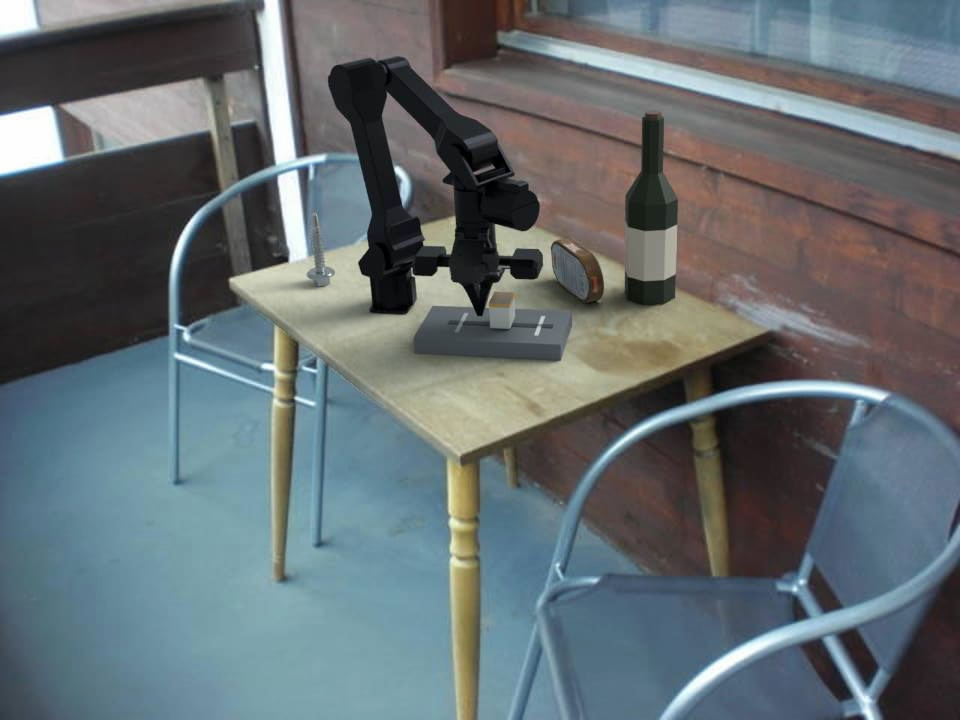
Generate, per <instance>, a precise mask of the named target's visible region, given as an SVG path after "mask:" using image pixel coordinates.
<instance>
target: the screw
mask: <svg viewBox="0 0 960 720" xmlns="http://www.w3.org/2000/svg"><path fill="white" fill-rule="evenodd" d="M309 229H310V233H311V234H310V236H311V238H310V239H311V243H312V244H311V246H312V248H311V249H313V250H312V252H313V254H312V255H313V259H314V260H313V262H314V264H313V265H314V267H313V268H310V269H309V270H308V271H307V272H306V277H307V278H308V279H311V280H313V285H314V286H316V287H318V288H319V287H320V288H321V287H326V286H328V285H329V284H331V279H330V278H332V277H334V276H335V275H336V271H335V269H334V268H333V267H330V266H326V264H325V263H326V261H325V259H326V258H325V254H324V252H325V251H324V244H323V243H324V241H322V240H323V238H322V236H323V234H322V228H321V224H320V223H319V217H318V213H316V212H315V211H313V212H311V214H310V228H309Z"/></svg>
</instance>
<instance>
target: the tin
mask: <svg viewBox="0 0 960 720" xmlns="http://www.w3.org/2000/svg"><path fill="white" fill-rule="evenodd" d="M550 252H551V253H550V254H551V266H552V271H553V273H554V277H555V278H556V280H557V282H558V283H559V284H560V286H561V287H563V288H564V290H566V291H567V292H568V293H570V294H571V295H572V296H573V297H575V298H576V299H577V300H578V301H580V302H581V303H583V304H588V303H591V302H597V301H600V300H601V299H602V298H603V296H604V292H605V281H604V280H605V279H604V274H603V270H602V268H601V264H600V262H599V261H598V259H597V257H596V255H594V253H593V252H592V251H591V250H589V249H588V248H586V247H585V246H583V245H582V244H581V243H580V242H578V241H577V240H575V239H574V238H573V237H571V236H566V237H564V238H560V239H557V240H554V241H553V242H552V244H551V246H550Z"/></svg>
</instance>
